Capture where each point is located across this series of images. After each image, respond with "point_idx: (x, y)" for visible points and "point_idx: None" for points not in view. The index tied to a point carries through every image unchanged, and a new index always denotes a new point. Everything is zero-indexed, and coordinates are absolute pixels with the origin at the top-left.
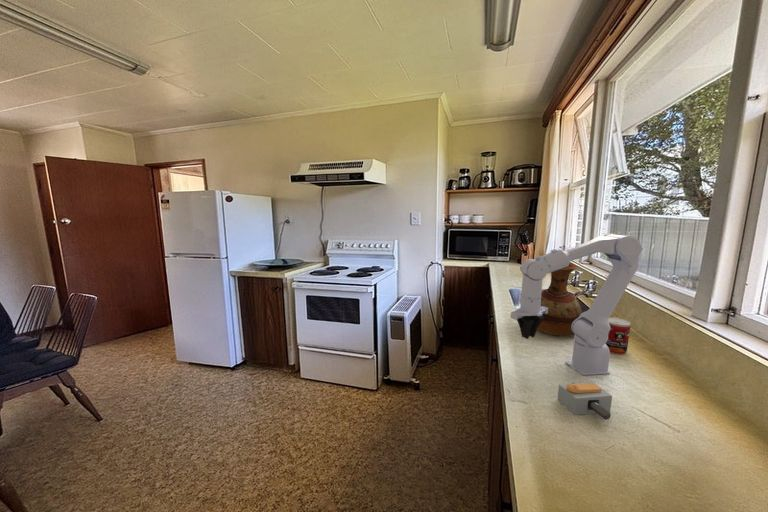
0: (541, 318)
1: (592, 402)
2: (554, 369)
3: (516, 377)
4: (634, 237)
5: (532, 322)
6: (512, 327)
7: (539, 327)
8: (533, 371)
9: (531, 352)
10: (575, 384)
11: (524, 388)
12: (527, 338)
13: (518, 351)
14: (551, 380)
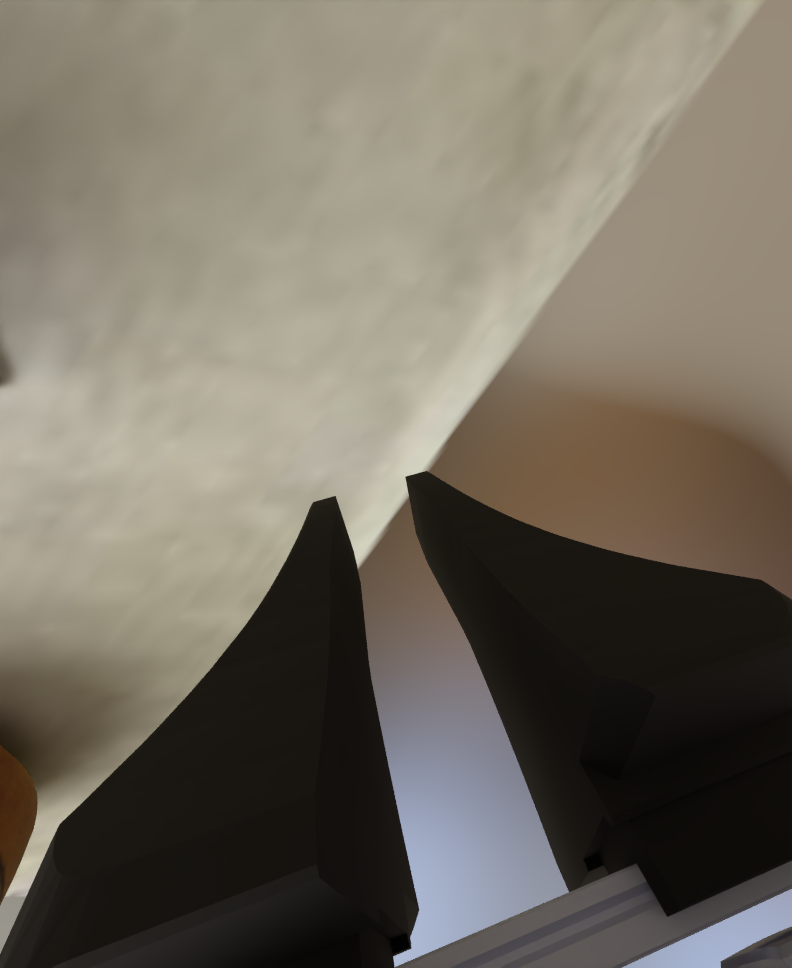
0: (174, 900)
1: None
2: (160, 316)
3: (494, 285)
4: None
5: (590, 629)
6: None
7: (2, 764)
8: (341, 327)
9: (209, 536)
10: None
11: (546, 135)
12: (420, 474)
13: (287, 549)
14: (285, 167)
